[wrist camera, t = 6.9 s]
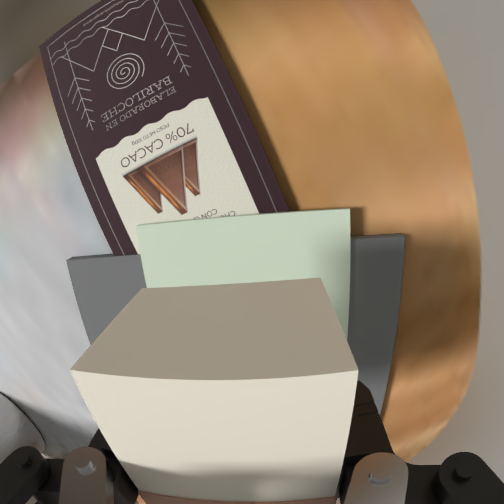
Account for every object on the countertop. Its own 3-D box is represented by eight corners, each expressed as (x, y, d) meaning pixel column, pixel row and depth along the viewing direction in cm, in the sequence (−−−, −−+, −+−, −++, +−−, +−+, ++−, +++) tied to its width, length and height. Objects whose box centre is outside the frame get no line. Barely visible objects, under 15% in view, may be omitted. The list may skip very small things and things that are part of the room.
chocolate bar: (171, -37, 10) (309, 262, 15) (175, -29, 11) (307, 256, 16) (39, 46, 12) (150, 321, 16) (48, 49, 13) (155, 314, 17)
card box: (141, 287, 9) (66, 370, 5) (322, 276, 8) (361, 371, 4) (192, 457, 11) (174, 536, 7) (315, 455, 10) (324, 539, 6)
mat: (140, 446, 20) (136, 454, 19) (66, 231, 15) (57, 235, 14) (369, 441, 19) (372, 450, 18) (400, 204, 14) (408, 207, 13)
